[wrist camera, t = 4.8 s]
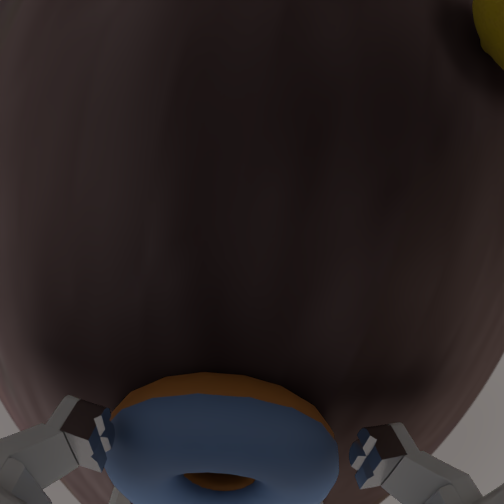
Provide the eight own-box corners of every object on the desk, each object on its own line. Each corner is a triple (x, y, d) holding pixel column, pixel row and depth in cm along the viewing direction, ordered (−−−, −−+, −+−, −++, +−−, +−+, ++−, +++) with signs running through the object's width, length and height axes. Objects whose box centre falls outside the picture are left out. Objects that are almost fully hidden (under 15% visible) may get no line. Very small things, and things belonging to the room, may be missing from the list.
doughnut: (210, 505, 13) (210, 560, 8) (81, 408, 11) (44, 466, 7) (353, 435, 13) (387, 493, 8) (236, 300, 11) (244, 358, 6)
